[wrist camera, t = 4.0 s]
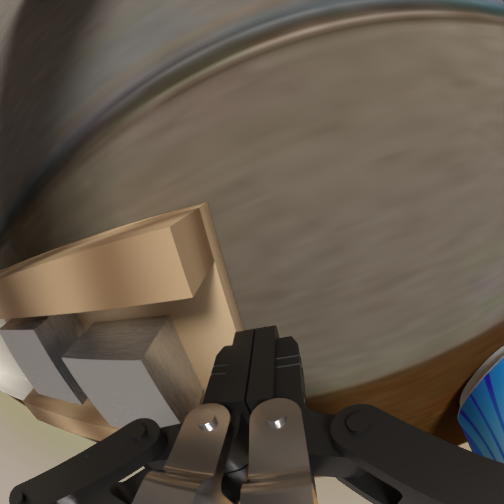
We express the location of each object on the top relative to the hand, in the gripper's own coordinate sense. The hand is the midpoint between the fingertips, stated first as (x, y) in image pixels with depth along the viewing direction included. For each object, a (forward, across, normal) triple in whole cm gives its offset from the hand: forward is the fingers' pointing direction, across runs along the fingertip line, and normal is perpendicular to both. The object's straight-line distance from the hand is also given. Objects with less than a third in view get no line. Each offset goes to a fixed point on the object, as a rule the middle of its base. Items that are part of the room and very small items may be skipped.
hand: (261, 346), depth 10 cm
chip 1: (+1, +11, -1) cm, 11 cm away
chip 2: (+1, +6, +1) cm, 6 cm away
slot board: (+2, +10, 0) cm, 10 cm away
